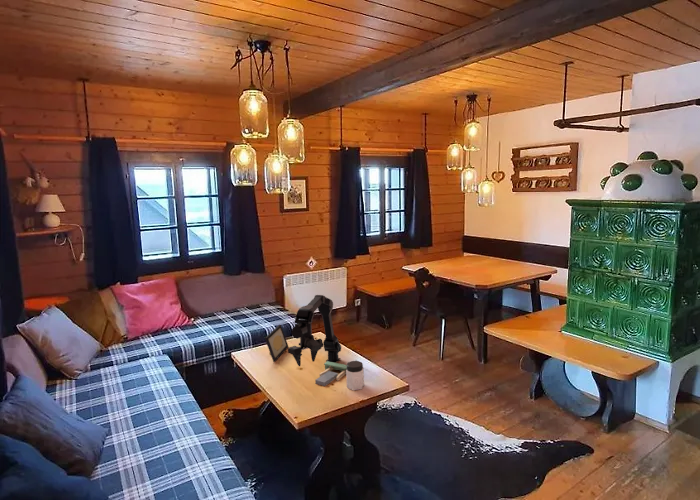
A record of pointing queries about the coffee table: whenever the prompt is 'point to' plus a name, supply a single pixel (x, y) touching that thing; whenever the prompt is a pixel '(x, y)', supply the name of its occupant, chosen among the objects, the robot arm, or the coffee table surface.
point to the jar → (355, 375)
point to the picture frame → (276, 343)
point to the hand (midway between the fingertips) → (306, 363)
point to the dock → (331, 365)
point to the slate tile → (326, 378)
